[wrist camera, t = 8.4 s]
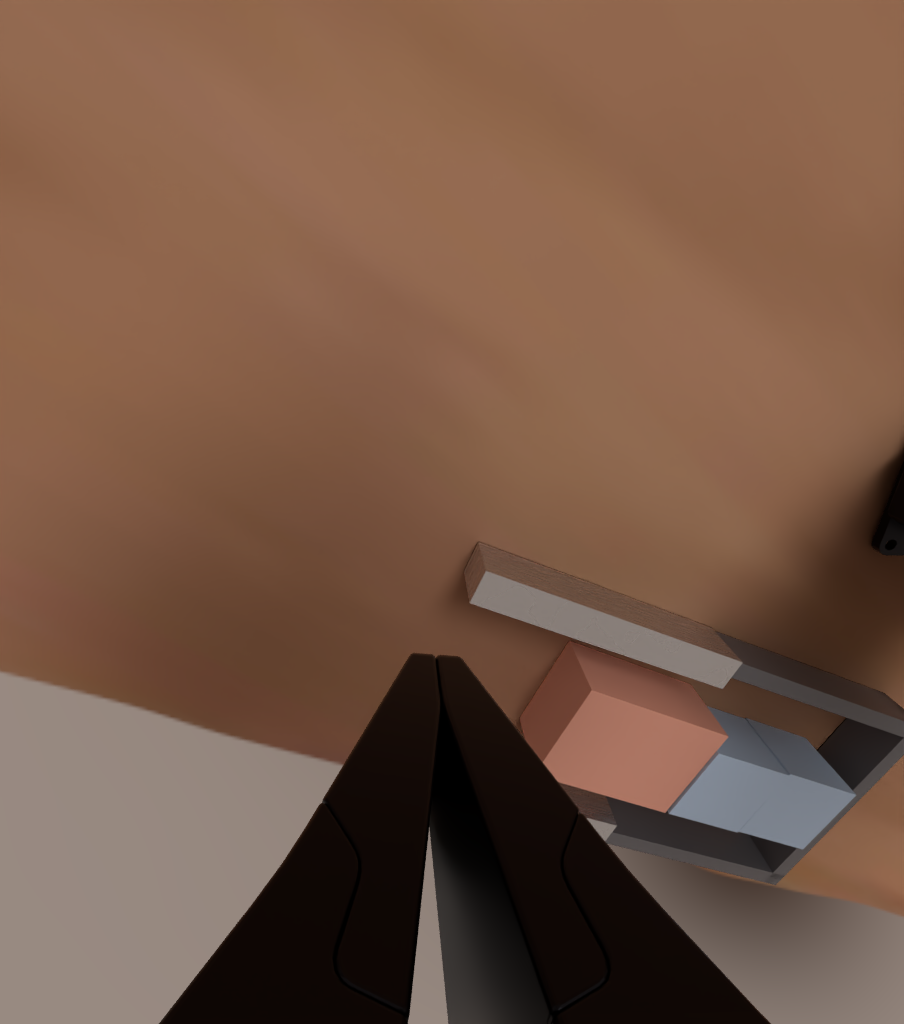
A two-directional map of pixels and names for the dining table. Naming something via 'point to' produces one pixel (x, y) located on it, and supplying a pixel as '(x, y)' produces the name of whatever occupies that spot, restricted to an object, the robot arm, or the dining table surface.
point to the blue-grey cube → (797, 791)
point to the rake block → (620, 728)
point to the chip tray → (849, 751)
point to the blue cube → (731, 779)
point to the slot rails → (596, 631)
